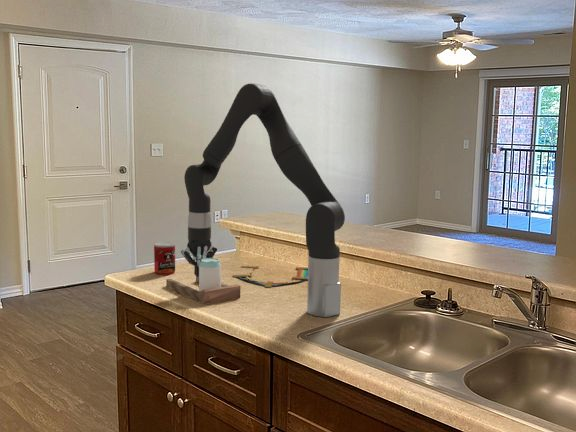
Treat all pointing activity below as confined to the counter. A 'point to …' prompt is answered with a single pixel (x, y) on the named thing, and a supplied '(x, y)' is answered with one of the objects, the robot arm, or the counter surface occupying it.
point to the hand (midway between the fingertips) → (199, 276)
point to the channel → (206, 292)
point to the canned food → (164, 258)
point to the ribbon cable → (300, 275)
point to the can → (209, 274)
